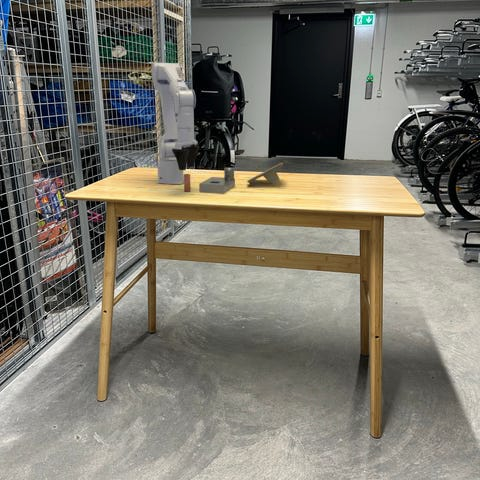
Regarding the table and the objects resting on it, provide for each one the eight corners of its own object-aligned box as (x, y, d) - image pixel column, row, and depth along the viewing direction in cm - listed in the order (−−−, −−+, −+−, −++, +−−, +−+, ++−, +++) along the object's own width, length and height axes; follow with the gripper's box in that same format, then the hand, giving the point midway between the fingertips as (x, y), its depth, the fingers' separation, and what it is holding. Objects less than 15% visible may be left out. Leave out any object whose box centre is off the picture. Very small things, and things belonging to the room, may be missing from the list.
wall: (261, 199, 156) (292, 172, 154) (246, 181, 155) (277, 154, 153) (261, 196, 172) (289, 172, 170) (247, 180, 171) (275, 155, 169)
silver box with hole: (199, 192, 148) (198, 172, 145) (212, 184, 161) (211, 166, 158) (224, 193, 145) (224, 173, 143) (235, 186, 158) (235, 167, 156)
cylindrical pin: (183, 191, 148) (182, 174, 146) (185, 190, 150) (185, 173, 148) (189, 192, 148) (188, 175, 146) (191, 190, 150) (191, 174, 148)
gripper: (188, 129, 134) (189, 172, 139) (203, 127, 148) (204, 165, 152) (168, 129, 136) (170, 171, 140) (185, 126, 149) (186, 165, 154)
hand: (186, 168), depth 146 cm, fingers open, 7 cm apart
